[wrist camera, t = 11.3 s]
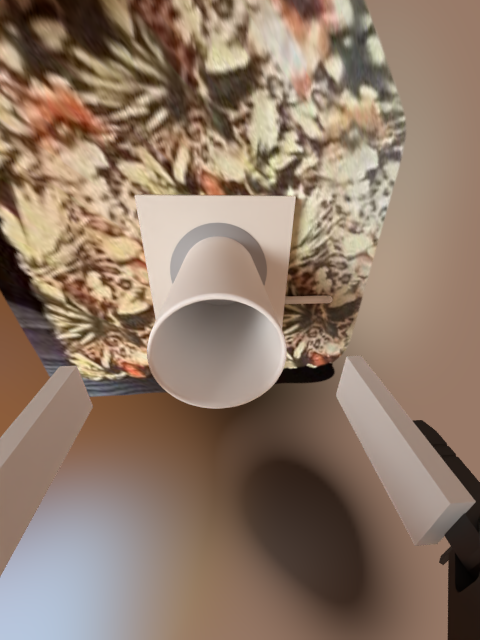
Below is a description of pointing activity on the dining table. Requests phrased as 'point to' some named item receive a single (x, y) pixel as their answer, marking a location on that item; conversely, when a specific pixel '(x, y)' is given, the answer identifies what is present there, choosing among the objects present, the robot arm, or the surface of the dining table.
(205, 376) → the cup
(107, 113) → the dining table surface
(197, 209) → the pad
